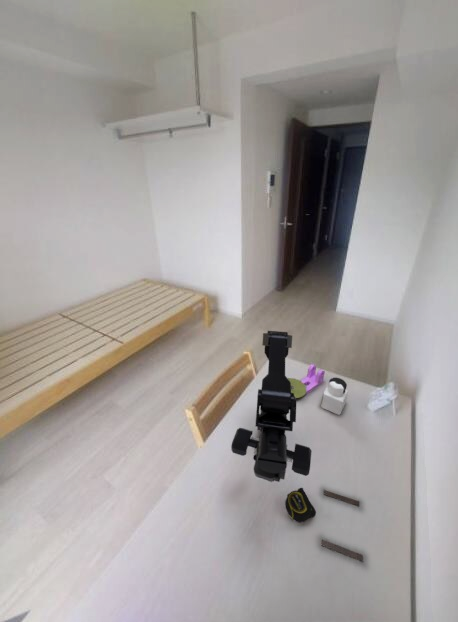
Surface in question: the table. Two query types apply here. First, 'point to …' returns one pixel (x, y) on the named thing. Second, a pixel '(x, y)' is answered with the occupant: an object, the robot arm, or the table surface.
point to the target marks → (336, 547)
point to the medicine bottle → (335, 396)
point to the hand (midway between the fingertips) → (269, 470)
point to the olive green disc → (297, 387)
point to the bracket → (313, 378)
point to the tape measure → (299, 506)
